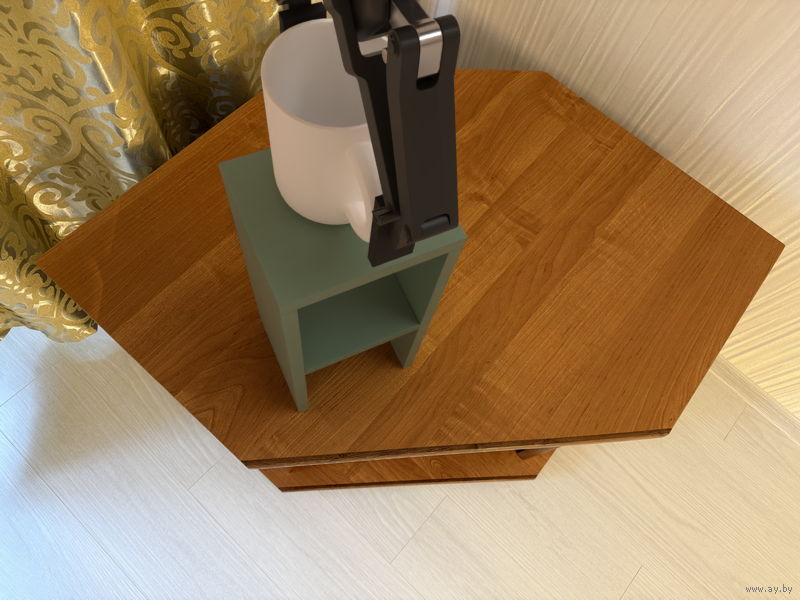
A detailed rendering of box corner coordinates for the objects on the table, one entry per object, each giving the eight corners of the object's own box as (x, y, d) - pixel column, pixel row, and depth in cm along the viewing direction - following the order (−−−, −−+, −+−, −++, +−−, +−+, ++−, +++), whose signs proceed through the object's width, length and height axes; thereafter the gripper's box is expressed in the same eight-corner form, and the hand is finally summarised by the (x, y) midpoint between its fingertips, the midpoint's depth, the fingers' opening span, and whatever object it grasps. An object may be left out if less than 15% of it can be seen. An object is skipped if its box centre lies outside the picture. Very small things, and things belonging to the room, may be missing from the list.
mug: (428, 255, 41) (458, 164, 32) (313, 290, 39) (309, 204, 30) (368, 122, 45) (378, 6, 36) (260, 147, 43) (242, 32, 34)
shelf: (412, 364, 69) (467, 237, 42) (298, 412, 66) (278, 307, 38) (370, 278, 73) (395, 110, 46) (260, 319, 69) (217, 163, 42)
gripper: (134, -407, 22) (225, 46, 41) (431, 78, 14) (372, 360, 33) (323, -414, 24) (325, 21, 43) (679, 7, 16) (487, 312, 35)
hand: (345, 169), depth 38 cm, fingers open, 13 cm apart
